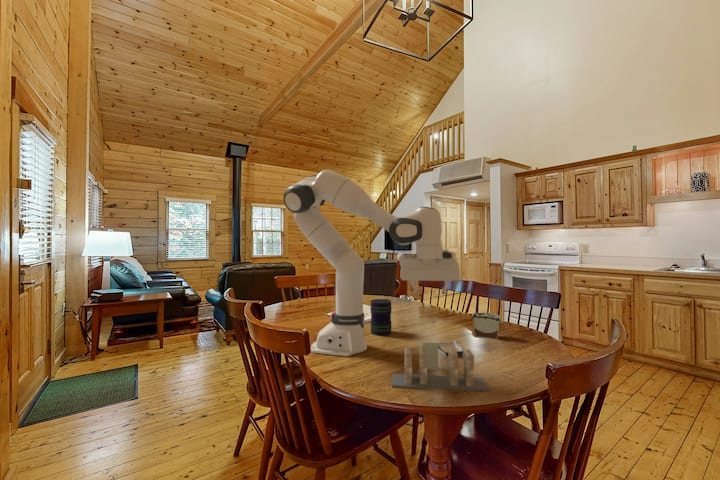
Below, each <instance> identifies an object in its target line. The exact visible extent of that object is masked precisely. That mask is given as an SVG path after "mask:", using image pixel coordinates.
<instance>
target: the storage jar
mask: <svg viewBox="0 0 720 480" xmlns="http://www.w3.org/2000/svg"><path fill="white" fill-rule="evenodd" d="M370 315H371V316H370V317H371V319H370V334H371V335H374V336H376V335H377V337H385V336H389V335H391V334H392V320H391V319H392V300H390V299H387V298H376V299H371V300H370Z"/></svg>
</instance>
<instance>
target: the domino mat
mask: <svg viewBox="0 0 720 480" xmlns="http://www.w3.org/2000/svg"><path fill="white" fill-rule="evenodd" d="M391 387H392V388H403V389H404V388H405V389H428V390H429V389H430V390H431V389H432V390H448V391H449V390H453V391H473V392H474V391H475V392H490V387H489V386H488V385H487V383H486V382H485V380H484V378H483V377H482V376H474V386H467V385H466V383H465V381H464V379H463V375H458V386H457V385H451V383H450V381H449V378H448V375H440V374H439V375H437V374H427V384H420V379H419V374H415V373H414V374H413V373H412V384H410V383H405V373H391Z"/></svg>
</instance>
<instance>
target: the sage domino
mask: <svg viewBox="0 0 720 480" xmlns="http://www.w3.org/2000/svg"><path fill="white" fill-rule="evenodd" d="M438 343H439V342H438V341H437V340H422V341H421V344H422V347H421V348H425V349H426V352H427V370H439V351H438Z"/></svg>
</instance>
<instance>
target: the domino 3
mask: <svg viewBox="0 0 720 480" xmlns="http://www.w3.org/2000/svg"><path fill="white" fill-rule="evenodd" d="M447 350H448V351H447V352H448V357H447V359H448V360H447V370H448V371H447V376H448V378H449V381H450V383H451V385H457V386H458V376H459V357H458V354H457V352H458V351H457V350H456V349H455V348H448V349H447Z"/></svg>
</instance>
